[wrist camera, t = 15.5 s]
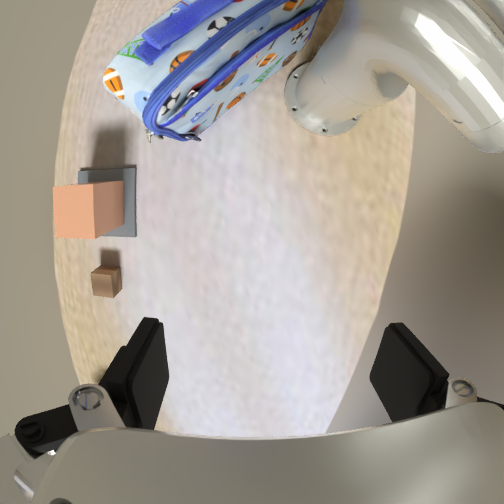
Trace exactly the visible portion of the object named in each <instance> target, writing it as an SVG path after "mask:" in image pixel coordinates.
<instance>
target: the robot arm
mask: <svg viewBox="0 0 504 504" xmlns="http://www.w3.org/2000/svg"><path fill="white" fill-rule="evenodd" d="M473 1H474V2H475V3H476V4H477V5H478V6H479V7H480V8H481V9H482V10H483V11H484V12H485V13H486V14H487V15H488V16H489V17H490V19H491V20H492V21H493V22H494V23H495V24H496V26H497V27H498V28H499V29H500V30H501V32H502V33H503V34H504V0H473ZM294 77H296V78H297V79H295V78H294ZM408 84H410V85H411V86H412V87H413V88H415V89H416V90H417V91H418V92H419V93H420V94H422V95H423V96H424V97H425V98H426V99H427V100H429V101H430V102H431V103H432V104H433V105H434V106H435V107H436V108H437V109H438V110H439V111H440V112H441V113H442V114H443V115H444V116H445V117H446V119H447V120H448V121H449V122H450V123H451V124H452V125H453V126H454V127H455V128H456V129H457V130H458V131H459V132H460V134H461V135H462V136H463V137H464V138H465V139H467V141H468V142H470V143H471V144H472V145H473V146H474V147H476V148H478V149H480V150H482V151H485V152H489V153H498V152H503V151H504V43H503V42H502V41H501V39H500V38H499V37H498V36H497V35H496V33H495V32H494V31H493V30H492V29H491V28H490V26H489V24H488V23H487V22H486V21H485V20H484V19H483V18H482V17H481V16H480V15H479V13H478V12H477V11H476V10H475V9H474V8H473V7H472V6H471V5H470V4H469V3H468V2H467V1H466V0H345V2H344V5H343V8H342V12H341V14H340V17H339V19H338V21H337V23H336V25H335V27H334V28H333V30H332V32H331V33H330V35H329V36H328V38H327V39H326V41H325V42H324V44H323V45H322V46H317V54H316V56H315V57H314V59H313V60H312V62H309V63H306V64H303V65H301V66H300V67H298V68H297V69H296V70H295V71H293V72H292V74H291V75H290V77H289V78H288V81H287V83H286V86H285V95H284V96H285V102H286V106H287V108H288V111H289V112H290V114H291V116H292V117H293V118H294V120H295V121H296V122H297V123H298V124H299V125H301V126H302V127H303V128H305V129H306V130H308V131H310V132H312V133H315V134H317V135H323V136H335V135H340V134H343V133H345V132H347V131H349V130H351V129H352V128H353V127H354V126H355V125H356V124H357V123H358V121H359V120H360V117H361V115H362V114H363V113H365V112H367V111H370V110H372V109H374V108H377V107H379V106H382V105H384V104H387V103H389V102H391V101H393V100H395V99H397V98H398V97H399V96H400V95H401V94H402V93H403V92H404V91H405V90H406V88H407V86H408ZM293 108H294V109H295V111H293V110H292V109H293ZM352 118H354V120H353V119H352ZM323 129H324V130H325V132H323V131H322V130H323ZM448 377H449V373H448V372H447V371H446V370H445V369H444V367H443V366H442V365H441V364H440V363H439V362H438V361H437V360H436V358H435V357H434V356H433V355H432V354H431V353H430V352H429V351H428V349H427V348H426V347H425V346H424V345H423V344H422V343H421V342H420V341H419V340H418V339H417V338H416V336H415V335H414V334H413V333H412V332H411V331H410V330H409V329H408V328H407V327H406V326H405V325H404V324H403V323H390V324H389V326H388V327H386V328H385V331H384V334H383V337H382V340H381V343H380V347H379V350H378V353H377V356H376V359H375V361H374V364H373V367H372V370H371V373H370V381H371V383H372V385H373V387H374V389H375V391H376V392H377V394H378V396H379V398H380V400H381V402H382V403H383V405H384V407H385V409H386V411H387V413H388V415H389V417H390V419H391V420H392V423H388V424H382V425H378V426H372V427H367V428H361V429H355V430H349V431H342V432H334V433H325V434H316V435H304V436H288V437H222V436H206V435H193V434H183V433H174V432H166V431H157V430H154V428H155V424H156V421H157V417H158V414H159V411H160V407H161V404H162V401H163V397H164V394H165V391H166V388H167V384H168V381H169V370H168V362H167V354H166V346H165V337H164V327H163V323H162V322H159V320H158V319H157V318H148V317H144V318H143V319H142V321H141V322H140V324H139V326H138V327H137V329H136V331H135V332H134V334H133V335H132V337H131V339H130V340H129V342H128V344H127V345H126V346H122V347H121V348H120V349H119V351H118V353H117V354H116V356H115V357H114V359H113V361H112V362H111V364H110V366H109V367H108V369H107V371H106V372H105V374H104V376H103V378H102V379H101V381H100V383H99V384H98V385H96V384H83V385H80V386H78V387H76V388H75V389H73V390H72V392H71V393H70V395H69V398H68V400H69V404H68V405H65V406H61V407H58V408H55V409H52V410H48V411H45V412H41V413H38V414H34V415H31V416H27V417H25V418H23V419H21V420H20V421H19V422H18V424H17V425H16V428H15V434H14V435H12V436H10V434H6V435H5V436H3V437H1V438H0V504H504V405H502V404H499V403H496V402H493V401H489V400H486V399H483V398H479V397H477V389H476V387H475V386H474V384H473V383H472V382H470V381H468V380H467V379H464V378H454V379H452V380H451V381H450V382H448V381H447V379H448Z"/></svg>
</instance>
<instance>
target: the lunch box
mask: <svg viewBox="0 0 504 504" xmlns="http://www.w3.org/2000/svg"><path fill="white" fill-rule="evenodd" d="M326 2H327V0H182V1H180V2H179V3H177V4H176V5H175V6H173V7H172V8H170V9H169V10H168V11H166V12H165V13H164V14H162V15H161V16H160V17H158V18H157V19H156V20H155V21H153V22H152V23H151V24H150V25H148V26H147V27H146V28H145V29H143V30H142V31H141V32H140V33H139V34H137V35H136V36H135V37H134V38H133V39H132V40H131V41H130V42H129V43H128V44H126V45H125V46H124V47H123V48H122V49H121V50H120V51H119V52H118V53H117V55H116V56H115V57H114V58H113V59H112V61H111V62H110V63H109V65H108V67H107V68H106V70H105V72H104V75H103V86H104V87H105V89H106V90H107V91H108V92H110V93H111V94H112V95H113V96H114V97H115V98H116V99H117V100H119V101H120V102H121V103H122V104H123V105H124V106H125V107H126V108H127V109H128V110H129V111H131V112H132V113H134V114H135V115H136V116H137V117H138V118H139V119H140V120H141V121H142V122H143V123H144V124H145V126H146V127H147V128H148V130H145V131H144V132H145V133H147V138H148V141H149V143H151V136H152V135H154V136H156V137H157V138H159V139H162V140H163V136H167V137H170V138H173V139H176V140H179V141H187V140H191V139H192V140H196V141H201V139H200V138H198V137H197V136H198V135H199V134H201V133H202V132H203V131H204V130H206V129H207V128H208V127H209V126H210V125H211V124H212V123H213V122H215V121H216V120H217V119H218V118H219V117H220V116H221V115H222V114H224V113H225V112H226V111H227V110H229V109H230V108H231V107H232V106H234V105H235V104H236V103H237V102H239V101H240V100H241V99H243V98H244V97H245V96H247V95H248V94H249V93H251V92H252V91H253V90H255V89H256V88H257V87H258V86H259V85H261V84H262V83H263V82H264V81H265V80H267V79H268V78H269V77H271V76H272V75H273V74H275V73H276V72H277V71H279V70H280V69H281V68H283V67H284V66H286V65H287V64H288V63H289V62H290V61H291V60H292V59H293V58H294V57H295V56H296V55H297V54H298V52H299V51H300V50H301V49H302V48H303V47H304V45H305V44H306V43H307V41H308V40H309V39H310V37H311V35H312V32H313V29H314V26H315V23H316V21H317V18H318V16H319V14H320V12H321V11H322V9H323V7H324V5H325V3H326Z"/></svg>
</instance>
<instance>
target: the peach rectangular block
mask: <svg viewBox="0 0 504 504" xmlns="http://www.w3.org/2000/svg"><path fill="white" fill-rule="evenodd" d="M53 206H54V223H55V235H56V238H85V239H96V238H98V237H100V236H102V235H104V234H106V233H108V232H110V231H112V230H114V229H116V228H118V227H120V226H122V225H124V181H101V182H86V183H78V184H70V185H63V186H56V187H53Z"/></svg>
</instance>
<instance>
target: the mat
mask: <svg viewBox="0 0 504 504" xmlns="http://www.w3.org/2000/svg"><path fill="white" fill-rule="evenodd" d="M101 181H124V225H122V226H120V227H118V228H116V229H114V230H112V231H110V232H108V233H106V234H104V235H102V236H116V237H136V168H121V169H103V170H88V171H78V183H86V182H101Z"/></svg>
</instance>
